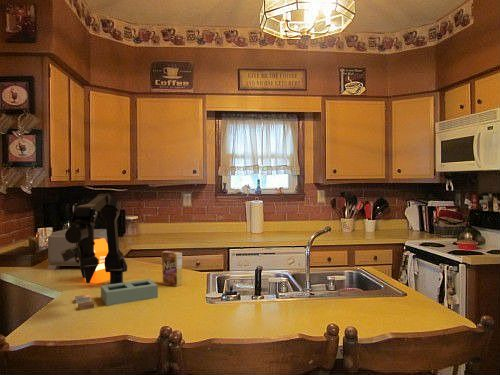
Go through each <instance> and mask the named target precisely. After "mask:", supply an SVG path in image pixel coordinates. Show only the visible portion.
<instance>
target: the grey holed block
mask: <svg viewBox="0 0 500 375" xmlns="http://www.w3.org/2000/svg"><path fill="white" fill-rule="evenodd" d="M123 282H124V283H116V284H104V285H103V284H101V285H100V299H101V300H102V302H103V303H104V304H105V306H107V307H109V306H115V305H120V304H126V303H127V304H128V303H134V302H141V301H145V300H146V301H147V300H151V299H152V300H153V299H158V297H159V291H158V290H159V288H158V286H159V285H158V284H157V283H155V282H154V281H153V280H151V279H150V278H147V279H140V280H139V279H138V280H133V281H123Z"/></svg>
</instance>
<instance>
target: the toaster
mask: <svg viewBox="0 0 500 375" xmlns="http://www.w3.org/2000/svg"><path fill="white" fill-rule="evenodd" d="M68 229H69V228H66V229H60V230H57V231H53V232H52V233H51V234H50V235H48V236H47V250H48V251H47V261H48V262H49V264H48V266H47V268H46V271H55V270H58V269H59V268H60V267H61V266H62V267H63V266H66V267H67V266H69V267H70V266H72V267H76V266H77V267H80V265H79V264H78V263H77V262H76V261H75V259H74V258H71V259H69V260H68V261H64V260H63V258H62V255H61V253H60V252H62V251H64V250H67V249H69V248H72V247H74V246H76V243H70V242H68V241H67V240H66V238H65V234H66V231H67V230H68ZM103 238H105V240H106V242H107V232H106V228H97V229H96V228H94V240H96V239H103ZM107 244H108V243H107Z"/></svg>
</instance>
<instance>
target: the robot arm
mask: <svg viewBox="0 0 500 375" xmlns="http://www.w3.org/2000/svg"><path fill="white" fill-rule="evenodd" d="M121 208H122V206H121V203H120V202H119V200H118V199H116V198H114V197H112V196H111V195H110V194H109V193H99V194H97V195H96V197H95V198H93V199H91V201H89V202H87V203H85V204H80V205H78V206H76V207H75V209H74V210H73V212H72V216H71V219H70V222H69V225H70V227H69V228H67V229H68V230H67V231H66V234H65V238H66V240H67V241H68V242H70V243H76V246H74V247H72V248H69V249H67V250H64V251H62V252H60V253H61V255H62V258H63V260H64V261H68V260H69V259H71V258H74V259H75V261H76V262H77V263H78V264H79V265H80V266H79V267H80V268H79V269H80V273H81V277H82V279H84V280H85V279H86V282H85V283H86V284H90V281H91V279H92V276H93V274H94V272H95V270H96V268H97V266H98V264H99V259H98V258H97V257H96V256H95V253H94V245H95V242H94V229H95V226H96V220H97V217H98V214H99V213H98V212H100V216H101V218H102V219H103V220H104V221H105V229H106V232H107V243H108V254H107V255H106V257H105V262H104V265H105V271H106V272H110V279H109V282H107V285H109V284H116V283H124V282H125V281H124V273H126V272H128V264H127V261H126V260H125V257H124V253H123V252H122V250H120V246H119V245H120V243H119V242H120V241H119V233H118V231H119V230H118V218H119V216H120V214H121Z"/></svg>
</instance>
